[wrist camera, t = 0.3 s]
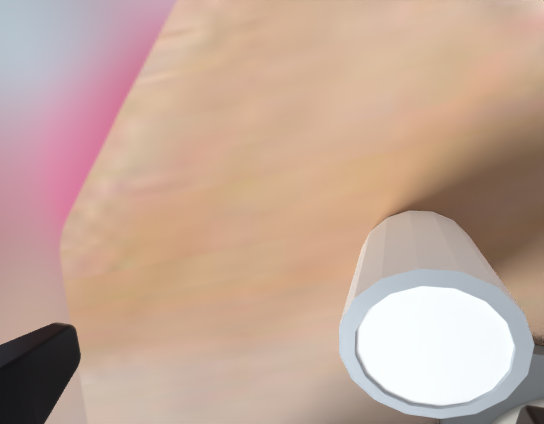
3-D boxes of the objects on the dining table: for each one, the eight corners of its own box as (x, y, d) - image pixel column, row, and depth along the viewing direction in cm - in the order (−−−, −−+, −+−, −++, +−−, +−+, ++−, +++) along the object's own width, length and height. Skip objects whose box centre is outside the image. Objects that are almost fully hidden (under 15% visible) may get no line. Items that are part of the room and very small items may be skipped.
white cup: (365, 184, 21) (359, 249, 15) (510, 215, 20) (570, 298, 14) (336, 297, 24) (322, 392, 18) (462, 329, 23) (494, 442, 17)
